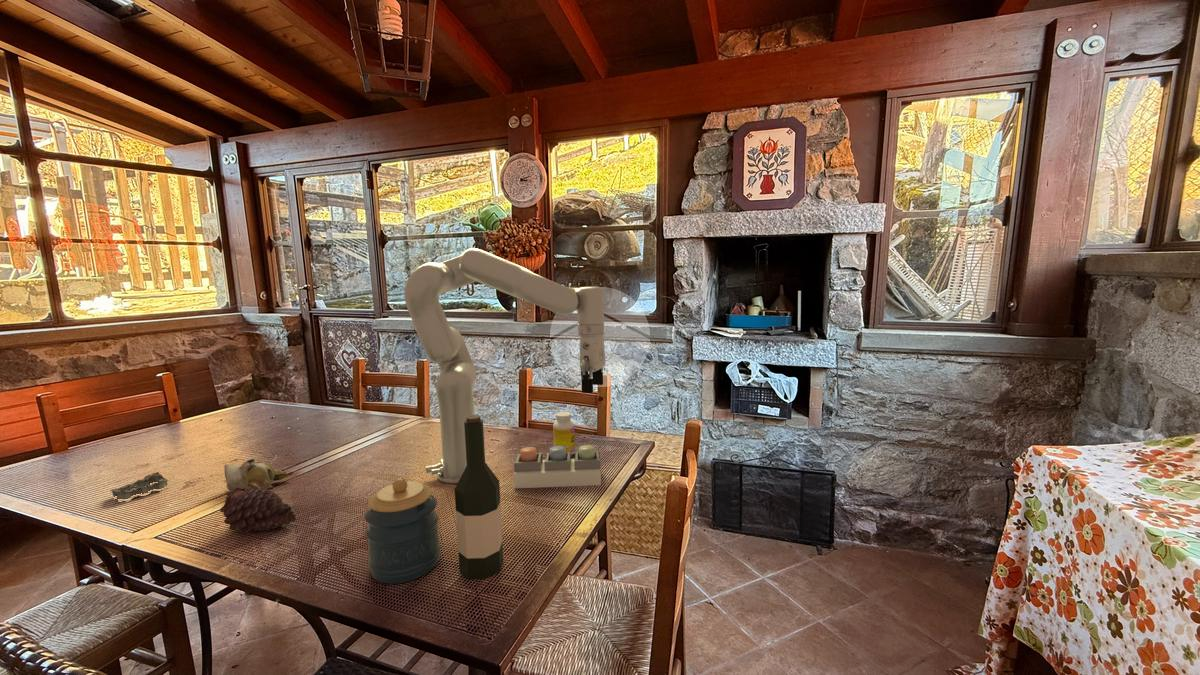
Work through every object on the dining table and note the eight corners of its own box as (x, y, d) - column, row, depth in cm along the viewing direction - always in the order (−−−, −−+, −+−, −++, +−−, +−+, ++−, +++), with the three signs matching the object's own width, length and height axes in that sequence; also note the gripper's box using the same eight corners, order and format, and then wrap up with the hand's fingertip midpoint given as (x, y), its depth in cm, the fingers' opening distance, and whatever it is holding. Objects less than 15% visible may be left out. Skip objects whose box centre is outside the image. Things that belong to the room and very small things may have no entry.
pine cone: (311, 513, 113) (302, 490, 107) (282, 552, 106) (270, 530, 99) (243, 493, 114) (230, 469, 108) (209, 531, 106) (193, 507, 100)
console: (514, 488, 125) (513, 465, 124) (518, 474, 134) (517, 452, 133) (601, 485, 126) (600, 461, 125) (599, 471, 134) (599, 449, 134)
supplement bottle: (574, 457, 145) (573, 417, 144) (552, 457, 145) (551, 417, 144) (575, 449, 152) (574, 410, 150) (555, 449, 152) (554, 411, 150)
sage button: (579, 461, 127) (578, 451, 126) (579, 455, 131) (578, 445, 131) (595, 461, 127) (595, 450, 127) (594, 455, 131) (594, 444, 131)
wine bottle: (457, 560, 94) (447, 414, 90) (499, 549, 97) (491, 408, 93) (462, 584, 86) (452, 426, 82) (507, 572, 89) (500, 419, 85)
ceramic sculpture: (238, 451, 131) (294, 452, 132) (240, 480, 133) (295, 481, 134) (209, 467, 121) (270, 468, 122) (212, 498, 122) (272, 499, 123)
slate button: (549, 462, 127) (549, 452, 126) (550, 456, 131) (550, 446, 131) (565, 462, 127) (565, 451, 126) (566, 456, 131) (566, 445, 131)
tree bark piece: (162, 484, 133) (160, 470, 132) (171, 490, 129) (169, 476, 128) (110, 498, 124) (108, 484, 124) (117, 505, 120) (115, 490, 120)
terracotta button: (519, 463, 126) (519, 453, 126) (521, 457, 131) (521, 447, 130) (536, 463, 126) (535, 452, 126) (537, 457, 131) (537, 446, 130)
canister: (401, 541, 101) (395, 462, 98) (454, 550, 97) (448, 469, 94) (353, 579, 88) (345, 490, 86) (411, 591, 84) (404, 498, 82)
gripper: (594, 334, 125) (596, 396, 127) (611, 326, 141) (613, 382, 144) (567, 333, 127) (570, 395, 129) (588, 326, 144) (589, 381, 146)
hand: (592, 388), depth 137 cm, fingers open, 9 cm apart
